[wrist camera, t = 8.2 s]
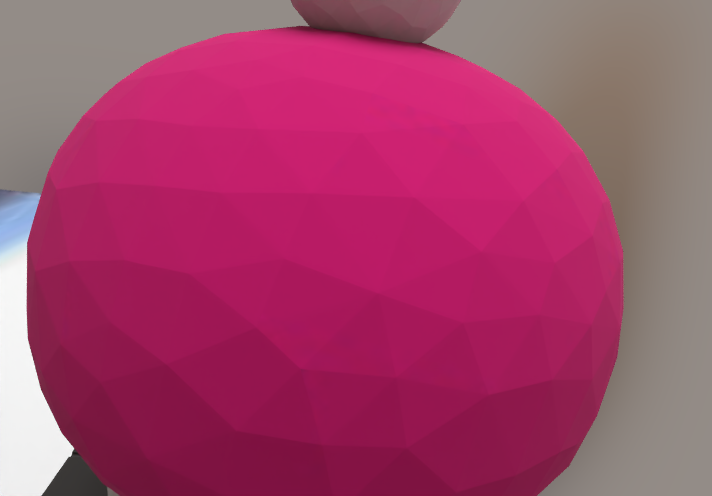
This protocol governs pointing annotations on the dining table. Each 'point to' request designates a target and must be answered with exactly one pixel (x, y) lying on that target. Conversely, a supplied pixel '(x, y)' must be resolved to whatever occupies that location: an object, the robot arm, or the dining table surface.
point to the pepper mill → (323, 270)
